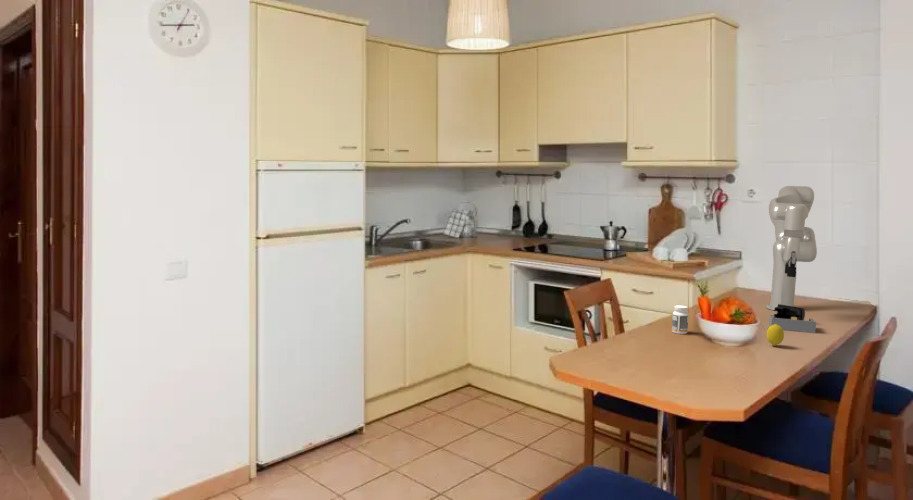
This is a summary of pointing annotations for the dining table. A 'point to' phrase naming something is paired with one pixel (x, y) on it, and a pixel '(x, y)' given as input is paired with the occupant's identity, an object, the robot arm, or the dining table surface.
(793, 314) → the end cap
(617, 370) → the dining table surface
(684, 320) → the pill bottle
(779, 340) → the lemon
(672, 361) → the dining table surface
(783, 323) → the steel cradle
